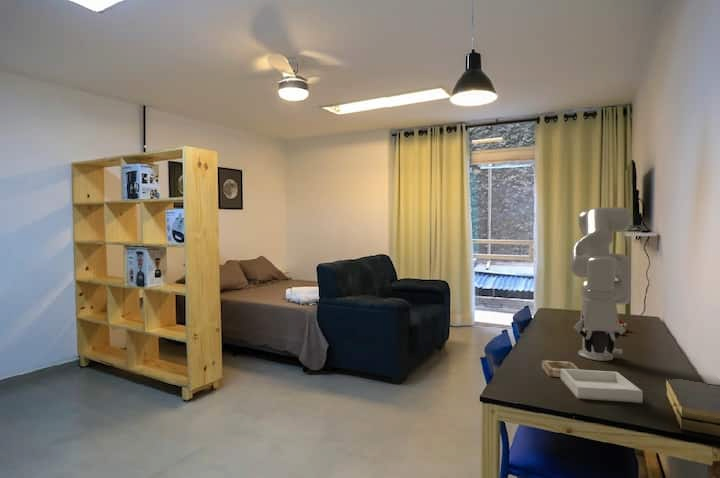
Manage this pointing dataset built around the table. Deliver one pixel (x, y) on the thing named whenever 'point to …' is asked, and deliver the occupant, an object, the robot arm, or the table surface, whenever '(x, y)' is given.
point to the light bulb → (599, 343)
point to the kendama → (622, 325)
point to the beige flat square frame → (556, 367)
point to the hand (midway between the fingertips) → (598, 351)
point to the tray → (600, 385)
